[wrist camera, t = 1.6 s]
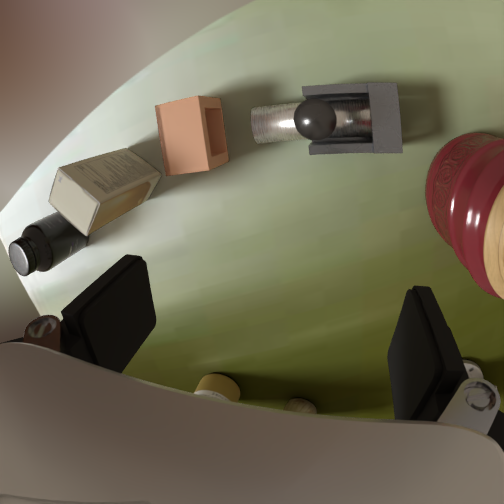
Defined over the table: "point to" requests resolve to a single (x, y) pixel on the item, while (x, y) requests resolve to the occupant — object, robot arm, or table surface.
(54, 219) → the supplement bottle
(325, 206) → the table surface
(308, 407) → the fennel bulb
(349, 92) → the sleeve
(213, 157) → the socket
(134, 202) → the skincare box
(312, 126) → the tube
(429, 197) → the canister
